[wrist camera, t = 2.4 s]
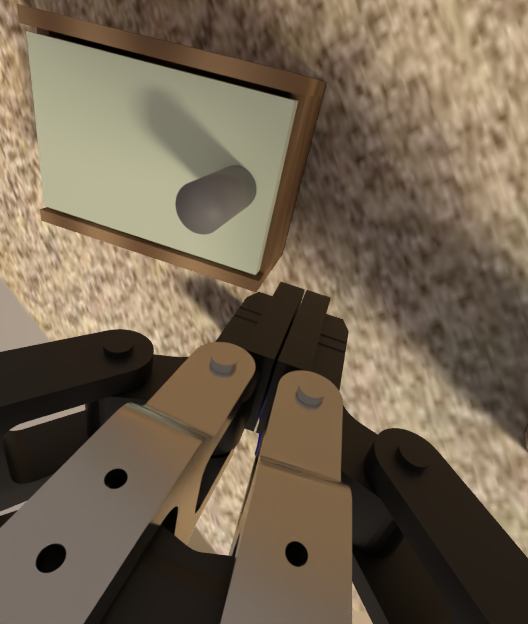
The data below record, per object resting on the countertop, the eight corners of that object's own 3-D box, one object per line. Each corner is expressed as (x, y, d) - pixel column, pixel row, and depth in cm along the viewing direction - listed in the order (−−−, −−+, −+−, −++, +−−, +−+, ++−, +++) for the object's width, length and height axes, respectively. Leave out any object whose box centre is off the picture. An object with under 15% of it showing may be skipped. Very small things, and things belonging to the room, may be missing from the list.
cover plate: (298, 100, 19) (267, 100, 14) (259, 269, 24) (227, 312, 19) (39, 33, 21) (-68, 12, 16) (54, 203, 26) (-23, 226, 21)
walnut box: (326, 82, 24) (306, 76, 18) (282, 254, 30) (256, 292, 24) (103, 26, 26) (16, 4, 20) (106, 198, 32) (41, 220, 26)
